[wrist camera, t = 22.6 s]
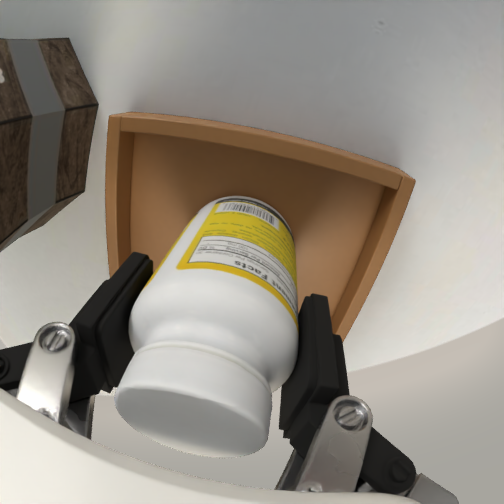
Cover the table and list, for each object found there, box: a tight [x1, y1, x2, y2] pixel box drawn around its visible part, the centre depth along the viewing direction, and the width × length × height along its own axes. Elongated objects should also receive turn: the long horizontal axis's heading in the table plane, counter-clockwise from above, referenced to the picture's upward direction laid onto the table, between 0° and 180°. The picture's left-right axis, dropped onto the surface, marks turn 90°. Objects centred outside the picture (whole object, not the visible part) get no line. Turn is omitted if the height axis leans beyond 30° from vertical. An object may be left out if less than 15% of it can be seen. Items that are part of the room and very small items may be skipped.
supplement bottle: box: [114, 196, 299, 458], centre depth 10 cm, size 5×5×10 cm
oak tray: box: [105, 112, 416, 343], centre depth 14 cm, size 13×11×2 cm
